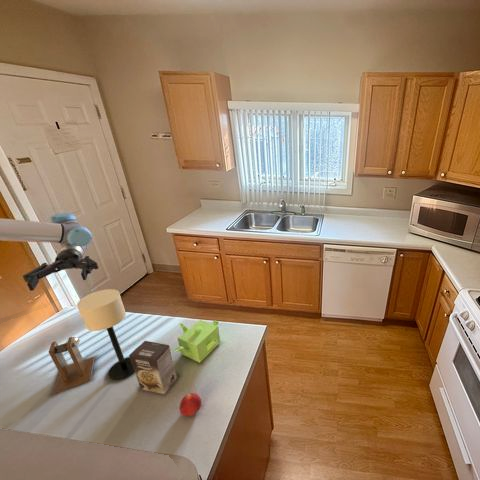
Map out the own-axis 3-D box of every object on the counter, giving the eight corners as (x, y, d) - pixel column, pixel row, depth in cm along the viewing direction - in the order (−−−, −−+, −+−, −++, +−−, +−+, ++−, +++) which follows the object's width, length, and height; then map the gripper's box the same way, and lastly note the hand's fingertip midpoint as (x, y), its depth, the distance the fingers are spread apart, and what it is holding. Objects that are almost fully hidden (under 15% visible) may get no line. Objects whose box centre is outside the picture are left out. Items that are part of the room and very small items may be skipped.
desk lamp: (103, 372, 88) (72, 299, 76) (135, 354, 96) (112, 285, 83) (113, 389, 83) (82, 314, 71) (147, 368, 91) (124, 297, 78)
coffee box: (140, 391, 83) (127, 355, 76) (155, 374, 89) (144, 339, 82) (165, 396, 82) (154, 360, 75) (178, 378, 88) (169, 344, 81)
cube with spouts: (179, 372, 90) (173, 348, 85) (180, 343, 102) (175, 321, 97) (224, 358, 96) (220, 336, 91) (220, 333, 108) (217, 312, 103)
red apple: (185, 426, 74) (180, 409, 71) (179, 411, 78) (174, 393, 75) (205, 413, 78) (201, 396, 74) (199, 399, 81) (195, 382, 78)
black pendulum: (68, 348, 90) (66, 338, 90) (81, 344, 92) (79, 334, 92) (54, 357, 79) (52, 345, 79) (70, 352, 81) (67, 341, 81)
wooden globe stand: (62, 369, 89) (46, 338, 83) (95, 359, 93) (82, 328, 87) (54, 395, 80) (35, 362, 74) (91, 382, 85) (76, 350, 79)
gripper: (110, 258, 113) (106, 281, 97) (30, 272, 100) (10, 301, 84) (105, 243, 110) (100, 264, 94) (22, 255, 97) (0, 282, 81)
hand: (57, 281), depth 89 cm, fingers open, 13 cm apart
